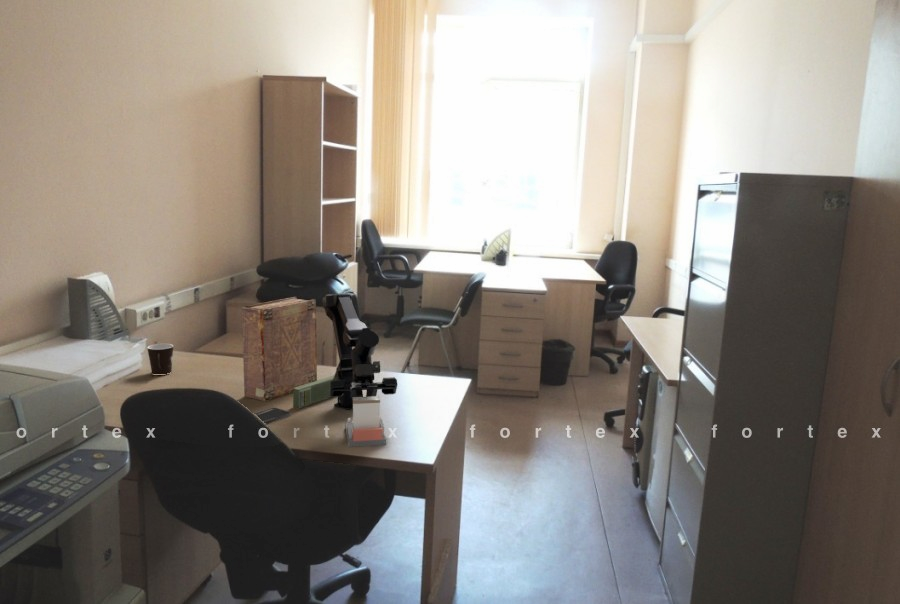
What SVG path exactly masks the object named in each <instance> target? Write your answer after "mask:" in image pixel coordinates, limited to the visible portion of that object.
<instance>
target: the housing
mask: <svg viewBox="0 0 900 604" xmlns="http://www.w3.org/2000/svg"><path fill="white" fill-rule="evenodd" d="M344 427H345V433H346V438H347V444H348V447H349V448H353V447H366V446H367V447H370V446H372V447H373V446H385V445H387V438H386V436H385V425H384V422H383V418H382V416H380V422H379V428H369V429H353V422H352V418H351V417H347V421H346V423H345V425H344Z"/></svg>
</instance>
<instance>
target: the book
mask: <svg viewBox="0 0 900 604" xmlns="http://www.w3.org/2000/svg"><path fill="white" fill-rule="evenodd" d="M241 314H242V315H241V317H242V320H241V321H242V322H241V327H242V356H243V357H242V358H243V388H244V389H243V392H244V397H246V398H250V399H255V400H257V401H262V402H267V401H270V400H273V399H276V398H279V397H281V396H284V395H287V394H289V392H290V393H291V392H292V393H293V388H296V387H299V386H302V385H305V384H308V383H311V382H315V381H318V377H317V376H318V373H317V372H318V370H317V369H318V364H317V363H318V362H317V361H318V359H317V357H318V354H317V300H316V299H310V300H306V299H299V298H297V296H293V297H292V296H291V297H287V298H281V299H275V300H271V301H266V302H262V303H256V304H251V305H246V306H242V307H241ZM286 393H287V394H286Z"/></svg>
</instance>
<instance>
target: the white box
mask: <svg viewBox="0 0 900 604" xmlns="http://www.w3.org/2000/svg"><path fill="white" fill-rule="evenodd" d="M380 403H381V399H380V396H379V395H376V396H371V397H366V396H363V397H353V408H352V423H353V429H369V428H379V422H380V415H381V413H380V411H381V409H380V408H381V406H380V405H381V404H380Z"/></svg>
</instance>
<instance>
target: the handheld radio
mask: <svg viewBox="0 0 900 604" xmlns="http://www.w3.org/2000/svg"><path fill="white" fill-rule="evenodd" d="M334 376H335V374H334V375H330V376H328V377H324V378H321V379H319V380H318V379H317V381H315V382H311V383H308V384H305V385H302V386H299V387H296V388H293V391H292V394H293V395H292V397H293V398H292V407H294V409H297V408H298V409H301V408H305V407H307V406H310V405H313V404H316V403H318V402H317V401H319V402H321V401H324V400H326V398H327V399H329V397H330V398H332V397H331V396H330V382H331V381H332V380H333V378H334ZM323 399H324V400H323ZM315 402H316V403H315ZM312 403H313V404H312ZM309 404H310V405H309ZM306 405H307V406H306Z"/></svg>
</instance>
